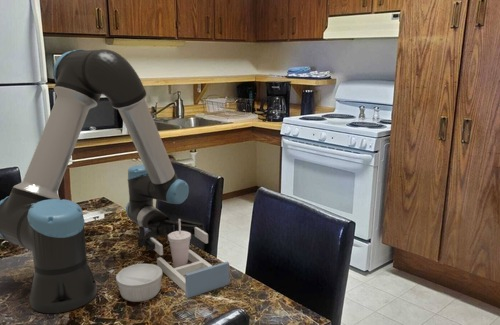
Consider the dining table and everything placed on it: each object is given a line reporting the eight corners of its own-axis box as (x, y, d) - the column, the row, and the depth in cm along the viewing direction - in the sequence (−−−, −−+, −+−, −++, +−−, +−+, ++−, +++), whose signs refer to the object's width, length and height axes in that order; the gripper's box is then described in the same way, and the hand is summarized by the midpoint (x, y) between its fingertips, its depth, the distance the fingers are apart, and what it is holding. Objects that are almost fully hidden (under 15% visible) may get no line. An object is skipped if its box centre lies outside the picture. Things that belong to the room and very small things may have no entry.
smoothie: (194, 262, 124) (193, 216, 121) (189, 273, 118) (187, 224, 115) (172, 261, 125) (170, 215, 122) (166, 271, 119) (164, 223, 116)
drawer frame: (187, 298, 105) (187, 275, 104) (154, 267, 121) (153, 247, 120) (229, 284, 112) (229, 262, 111) (192, 256, 128) (192, 237, 127)
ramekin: (116, 308, 101) (115, 287, 100) (117, 285, 112) (115, 266, 110) (165, 301, 104) (164, 281, 103) (161, 279, 115) (160, 261, 114)
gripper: (190, 224, 142) (224, 246, 125) (114, 242, 128) (141, 269, 111) (189, 202, 140) (224, 222, 123) (112, 218, 126) (140, 241, 109)
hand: (185, 244), depth 117 cm, fingers open, 13 cm apart
